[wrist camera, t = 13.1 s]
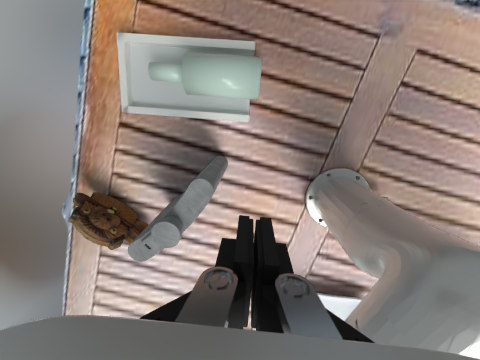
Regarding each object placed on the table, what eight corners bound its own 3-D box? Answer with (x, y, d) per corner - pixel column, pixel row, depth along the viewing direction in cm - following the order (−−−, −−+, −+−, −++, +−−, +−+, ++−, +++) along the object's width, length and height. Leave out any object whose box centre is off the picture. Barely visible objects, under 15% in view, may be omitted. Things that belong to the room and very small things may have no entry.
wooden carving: (162, 221, 49) (140, 246, 39) (153, 236, 50) (129, 264, 40) (94, 181, 47) (54, 197, 37) (86, 198, 48) (45, 218, 38)
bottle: (263, 49, 33) (143, 40, 33) (259, 94, 33) (142, 84, 34) (260, 66, 39) (160, 59, 40) (257, 104, 40) (158, 96, 40)
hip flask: (219, 152, 44) (194, 178, 25) (234, 166, 45) (221, 203, 25) (168, 204, 47) (112, 262, 28) (182, 216, 48) (137, 282, 29)
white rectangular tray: (255, 46, 39) (255, 41, 36) (249, 121, 42) (248, 122, 40) (124, 37, 39) (116, 32, 37) (129, 112, 43) (122, 112, 40)
